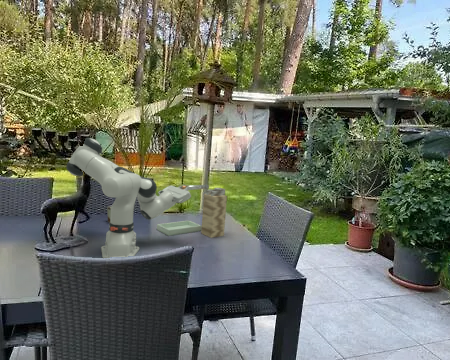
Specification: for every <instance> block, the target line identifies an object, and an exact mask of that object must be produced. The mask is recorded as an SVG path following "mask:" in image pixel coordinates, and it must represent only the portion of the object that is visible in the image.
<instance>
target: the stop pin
mask: <svg viewBox="0 0 450 360" xmlns="http://www.w3.org/2000/svg"><path fill="white" fill-rule="evenodd" d="M180 186H181V189H185V188H186V187H187V186H188V185H186V186H183V185H180ZM189 186H190V189H189V190H188V191H191V190H192V191H193V190H209V188H210V186H209V184H197V185H196V184H194V185H193V184H192V185H189Z"/></svg>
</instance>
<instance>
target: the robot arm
mask: <svg viewBox="0 0 450 360" xmlns="http://www.w3.org/2000/svg"><path fill="white" fill-rule="evenodd" d="M84 139H85V141H84V144H83V146H80V145H79V146H78V147H77V148H76V149H75V151H74V152H73V153H72V154H71V156H70V159H69V161H68V162H67V164H66V170H67V171H68V172H69V173H70V175H73V176H75V177H83V176H84V175H83V172H82V171H84V172H85V175H87V176H89V177H91V178H93V179H94V180H95V181H96V182H98V183H99V184H100V186H101V190H102V193H103V194H104V195H105V196H106V197H108V198H115V199H114V202H113V203H112V205H110V206H111V216H110V223H109V222H108V223H109V224H108V231H107V232H106V234H105V241H104V245H103V246H101V247H100V251H101V256H102V257H101V258H102V259H104V258H110V257H128V256H134V257H135V256H136V255H137V254H138V252H139V251H140V247H139V246H138V245H137V233H136V231H134V226H135V225H134V209H135V204H136V201H137V202H138V204H139V207H140V208H139V209H140V214H141V215H142V217H143V218H144V219H146V220H150V221H151V220H153V219H155V218H157V217H159V216H161V215H162V214H164V212H165V211H167V210H169V209H171V208H172V207H174V206H175V205H176V204H182V203H185V202H187V201H188V200H189V199H191V197H192V195H191V192H190V190H189V189H190V186H191V185H185V184H183V185H180V186H178V187H177V186H174V185H168V186H166V187H165V188H163V189H162V190H159V191H158V195H157V194H156V192H157V189H158V188H157V183H156V182H155V181H154V180H153V179H151V178H147V177H144V176H141V175H139V174H138V173H135V172H133V171H131V170H130V169H127V168H125V167H122V166H119V165H117V164H116V163H115V162H114V161H111V160H109V159H107V158H104V157H103V156H101V155H103V154H104V153H103V148H102V145H101V144H100V142H99V141H98V140H97V139H94V138H91V137H86V138H84ZM80 169H81V170H82V171H80ZM181 186H187V187H186V188H185V189H181Z"/></svg>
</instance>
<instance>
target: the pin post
mask: <svg viewBox="0 0 450 360" xmlns="http://www.w3.org/2000/svg"><path fill="white" fill-rule="evenodd" d="M227 200H228V195H226V189H225V188H221V187H214V189H206V193H204V194H203V205H202V216H201V218H202V219H201V226H202V228H201V231H200V234H201V235H204V236H206V237H208V238H210V239H213V238H218V237H224V236H225V225H226V214H227V213H226V212H227Z"/></svg>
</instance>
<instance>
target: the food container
mask: <svg viewBox="0 0 450 360" xmlns="http://www.w3.org/2000/svg"><path fill="white" fill-rule="evenodd" d="M111 206H112V205H110V206H109V205H107V208H106V212H107V215H106V216H107V223H110V216H111Z"/></svg>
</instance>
